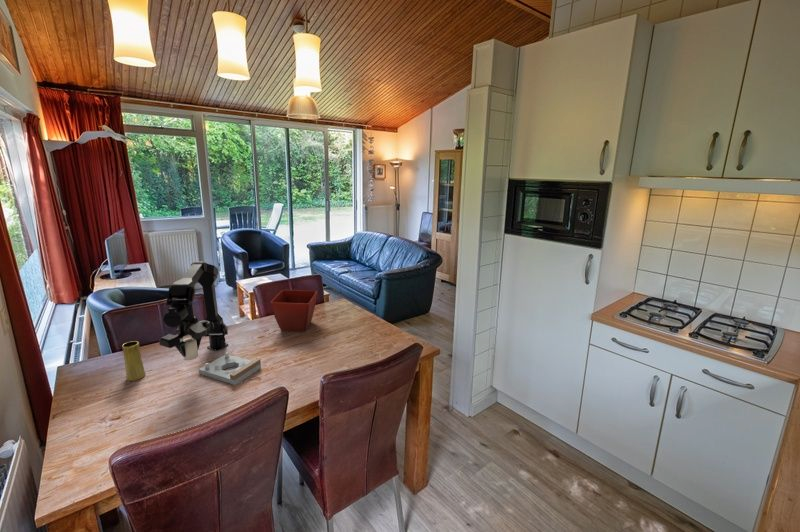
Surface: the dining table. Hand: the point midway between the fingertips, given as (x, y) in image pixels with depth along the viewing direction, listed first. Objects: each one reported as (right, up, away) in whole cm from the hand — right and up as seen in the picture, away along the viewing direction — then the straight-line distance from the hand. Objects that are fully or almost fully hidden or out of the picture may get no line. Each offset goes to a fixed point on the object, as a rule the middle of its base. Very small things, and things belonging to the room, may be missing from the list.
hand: (190, 353), depth 143 cm
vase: (-24, -10, +4) cm, 27 cm away
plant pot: (+26, +1, +54) cm, 60 cm away
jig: (+11, -10, +10) cm, 18 cm away
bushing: (0, -1, 0) cm, 2 cm away
